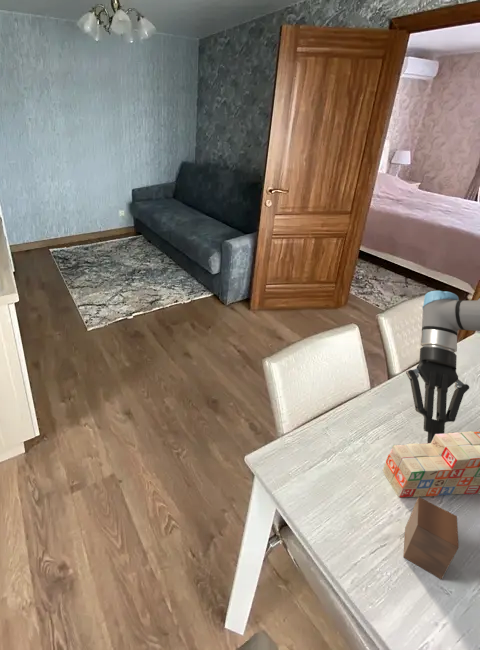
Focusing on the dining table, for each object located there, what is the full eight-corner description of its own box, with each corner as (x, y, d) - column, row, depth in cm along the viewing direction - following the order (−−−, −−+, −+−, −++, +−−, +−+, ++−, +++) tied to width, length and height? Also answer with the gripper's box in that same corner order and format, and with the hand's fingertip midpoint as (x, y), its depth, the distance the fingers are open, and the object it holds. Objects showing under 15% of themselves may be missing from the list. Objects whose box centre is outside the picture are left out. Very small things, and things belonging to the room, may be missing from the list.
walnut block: (440, 547, 67) (456, 515, 64) (441, 580, 63) (459, 547, 59) (405, 528, 71) (418, 496, 67) (403, 557, 66) (417, 525, 62)
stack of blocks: (398, 499, 76) (415, 462, 71) (381, 470, 81) (395, 434, 76) (490, 493, 77) (512, 457, 72) (466, 465, 83) (486, 430, 78)
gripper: (462, 359, 90) (459, 458, 82) (404, 345, 95) (396, 437, 87) (476, 355, 83) (474, 462, 76) (413, 340, 88) (405, 439, 81)
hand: (432, 448), depth 81 cm, fingers closed
